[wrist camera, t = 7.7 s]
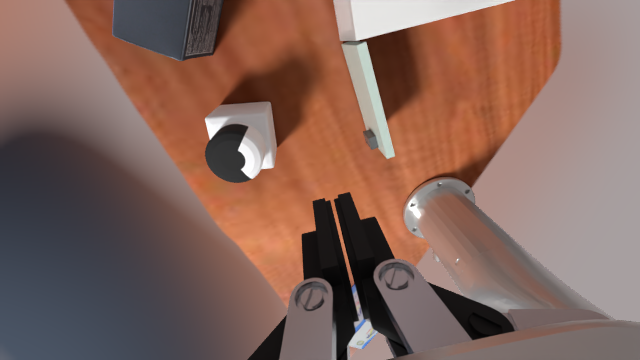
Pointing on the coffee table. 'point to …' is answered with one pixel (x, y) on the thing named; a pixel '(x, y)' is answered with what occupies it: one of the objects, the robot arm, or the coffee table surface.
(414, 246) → the coffee table surface
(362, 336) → the medicine box
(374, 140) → the side door
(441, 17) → the white cabinet
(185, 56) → the small box
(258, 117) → the white square bottle
